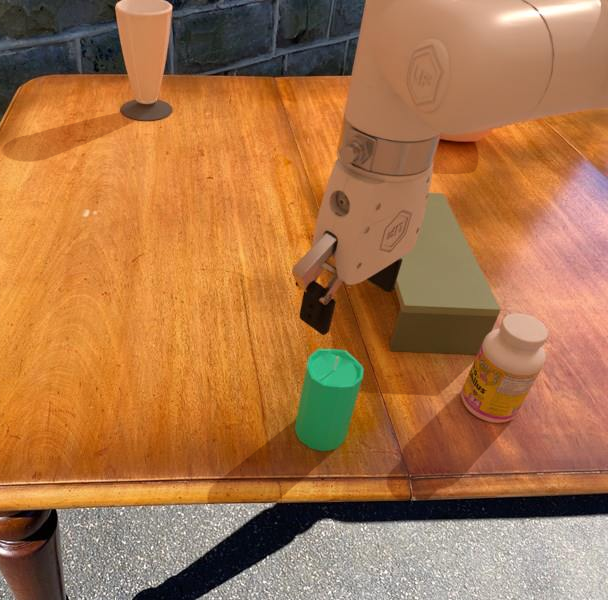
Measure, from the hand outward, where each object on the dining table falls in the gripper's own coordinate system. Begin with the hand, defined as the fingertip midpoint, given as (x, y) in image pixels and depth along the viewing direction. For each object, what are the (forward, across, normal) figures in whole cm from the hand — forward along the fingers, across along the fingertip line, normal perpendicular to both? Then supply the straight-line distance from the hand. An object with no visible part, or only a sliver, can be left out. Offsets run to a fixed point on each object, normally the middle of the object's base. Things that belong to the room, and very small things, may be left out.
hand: (347, 304), depth 61 cm
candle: (+19, 0, -1) cm, 19 cm away
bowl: (+20, +82, +34) cm, 91 cm away
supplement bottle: (+19, +19, -11) cm, 29 cm away
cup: (+20, +37, +82) cm, 93 cm away
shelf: (+19, +31, +8) cm, 37 cm away
